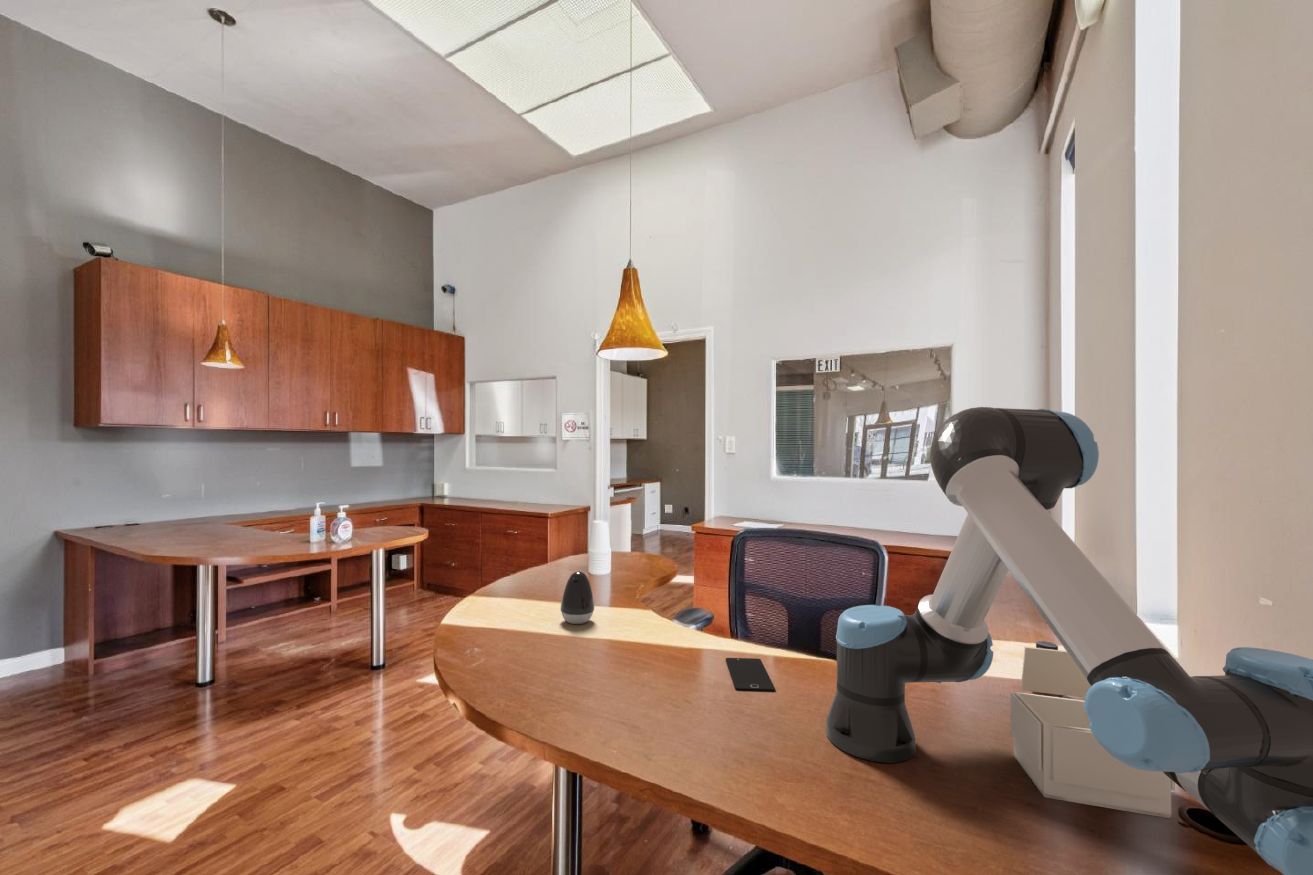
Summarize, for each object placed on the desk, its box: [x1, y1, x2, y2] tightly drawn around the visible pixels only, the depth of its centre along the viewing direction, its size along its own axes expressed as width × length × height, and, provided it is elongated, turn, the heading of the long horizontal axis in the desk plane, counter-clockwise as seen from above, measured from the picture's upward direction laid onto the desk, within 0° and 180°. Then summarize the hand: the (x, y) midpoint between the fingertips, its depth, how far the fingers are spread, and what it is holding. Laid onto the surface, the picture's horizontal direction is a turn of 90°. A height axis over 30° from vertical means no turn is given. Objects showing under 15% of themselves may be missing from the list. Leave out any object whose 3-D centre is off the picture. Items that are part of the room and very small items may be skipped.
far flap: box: [1020, 646, 1091, 699], centre depth 91 cm, size 14×8×1 cm
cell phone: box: [725, 657, 776, 693], centre depth 126 cm, size 9×18×1 cm, turn 0°
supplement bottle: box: [1031, 640, 1064, 698], centre depth 119 cm, size 6×6×11 cm
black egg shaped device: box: [560, 570, 595, 625], centre depth 162 cm, size 10×10×15 cm
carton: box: [1010, 691, 1176, 819], centre depth 85 cm, size 17×13×11 cm
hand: (1098, 685), depth 82 cm, fingers closed
